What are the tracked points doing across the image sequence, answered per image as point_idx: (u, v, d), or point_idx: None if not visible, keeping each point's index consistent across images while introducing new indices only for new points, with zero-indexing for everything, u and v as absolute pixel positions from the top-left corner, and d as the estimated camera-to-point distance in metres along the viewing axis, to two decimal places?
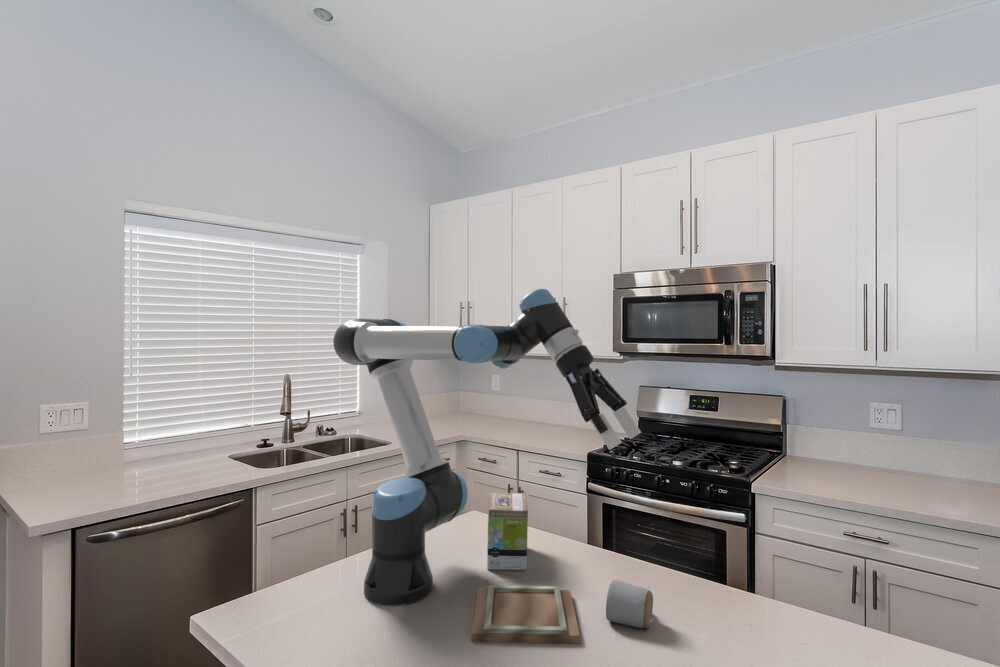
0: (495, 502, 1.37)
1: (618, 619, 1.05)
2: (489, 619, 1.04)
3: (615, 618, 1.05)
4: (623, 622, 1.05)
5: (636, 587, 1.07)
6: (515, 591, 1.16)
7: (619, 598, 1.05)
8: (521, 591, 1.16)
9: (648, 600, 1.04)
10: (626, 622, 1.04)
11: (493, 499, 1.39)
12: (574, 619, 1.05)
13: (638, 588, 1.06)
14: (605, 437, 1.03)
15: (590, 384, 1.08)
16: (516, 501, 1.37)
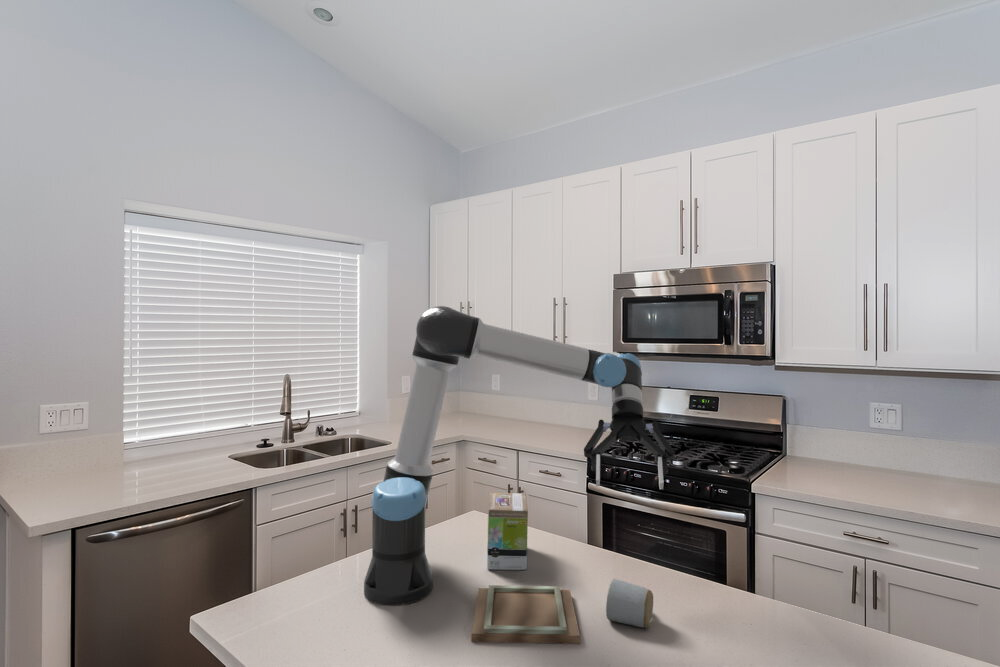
0: (495, 502, 1.37)
1: (618, 619, 1.05)
2: (489, 619, 1.04)
3: (615, 617, 1.05)
4: (623, 621, 1.05)
5: (636, 586, 1.07)
6: (515, 591, 1.16)
7: (619, 597, 1.05)
8: (521, 591, 1.16)
9: (648, 599, 1.04)
10: (626, 621, 1.05)
11: (493, 499, 1.39)
12: (574, 619, 1.05)
13: (638, 587, 1.06)
14: (662, 475, 1.18)
15: None
16: (516, 501, 1.37)
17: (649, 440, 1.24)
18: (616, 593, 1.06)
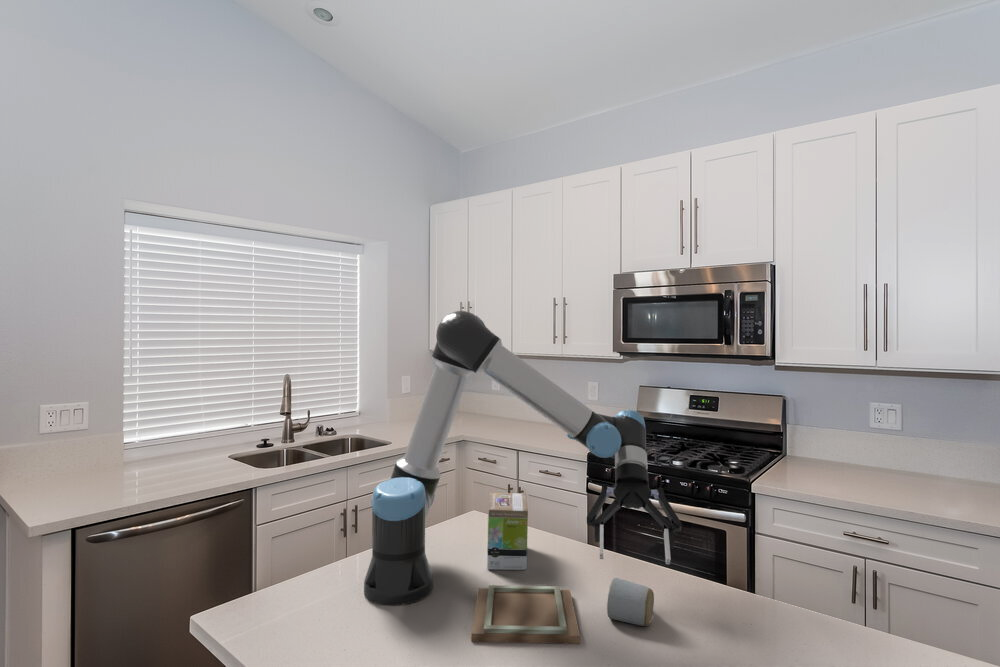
0: (495, 502, 1.37)
1: (619, 617, 1.06)
2: (489, 619, 1.04)
3: (616, 616, 1.06)
4: (624, 620, 1.06)
5: (637, 585, 1.07)
6: (515, 591, 1.16)
7: (620, 596, 1.06)
8: (521, 591, 1.16)
9: (649, 598, 1.05)
10: (627, 620, 1.05)
11: (493, 499, 1.39)
12: (574, 619, 1.05)
13: (639, 586, 1.07)
14: (669, 549, 1.13)
15: None
16: (517, 501, 1.37)
17: (655, 509, 1.19)
18: (617, 592, 1.06)
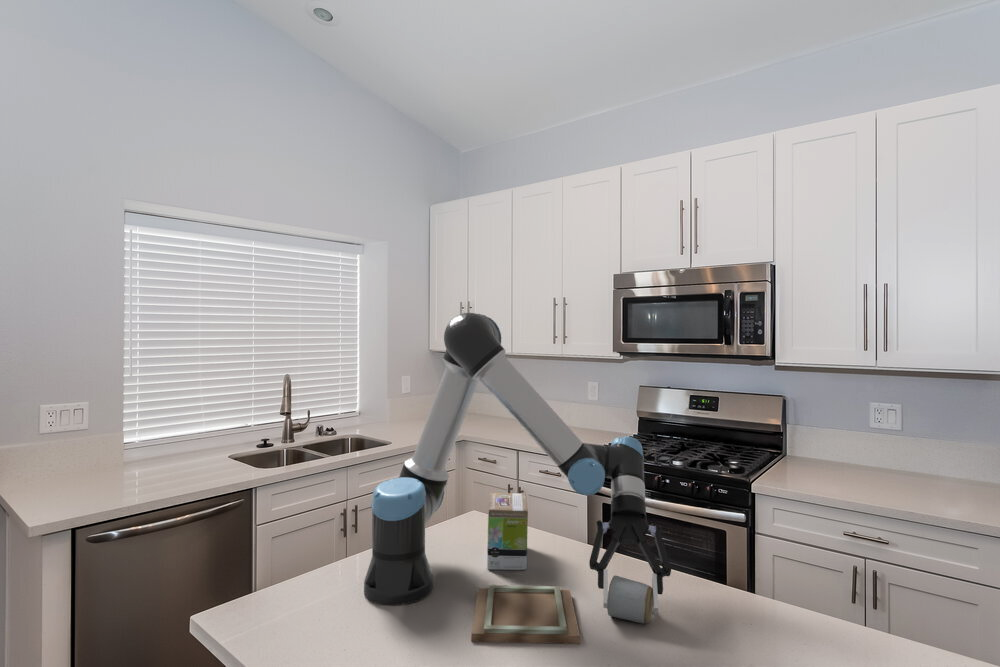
0: (495, 502, 1.37)
1: (619, 615, 1.06)
2: (489, 619, 1.04)
3: (616, 613, 1.07)
4: (624, 617, 1.06)
5: (637, 583, 1.08)
6: (515, 591, 1.16)
7: (620, 594, 1.06)
8: (521, 591, 1.16)
9: (649, 595, 1.05)
10: (627, 617, 1.06)
11: (493, 499, 1.39)
12: (574, 619, 1.05)
13: (639, 584, 1.08)
14: (657, 597, 1.05)
15: None
16: (516, 501, 1.37)
17: (647, 549, 1.11)
18: (617, 589, 1.07)
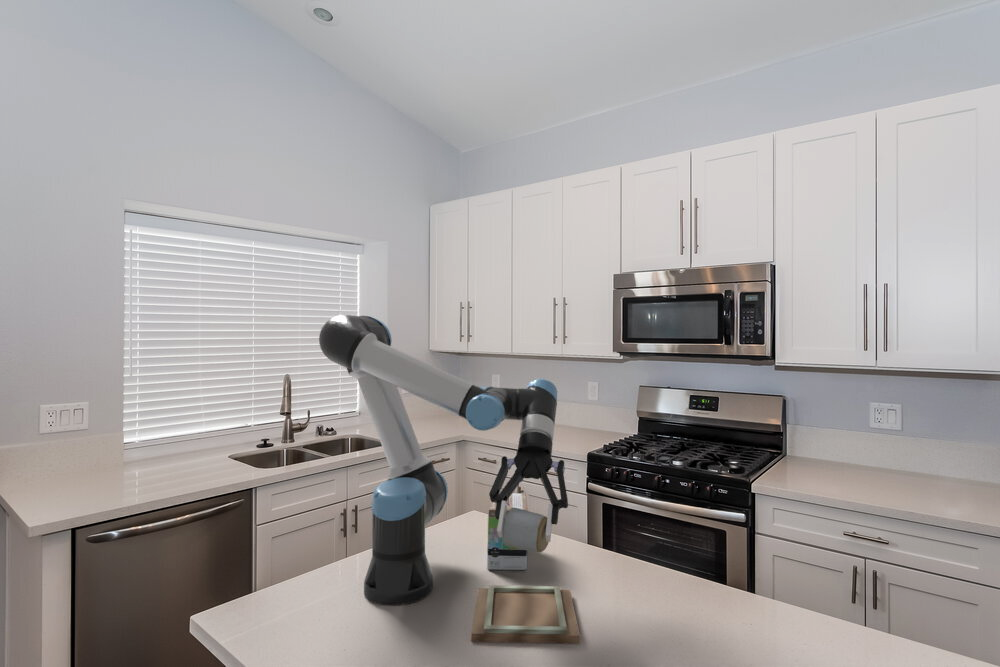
0: None
1: (514, 543, 1.07)
2: (489, 619, 1.04)
3: (511, 542, 1.07)
4: (519, 546, 1.07)
5: (533, 513, 1.09)
6: (515, 591, 1.16)
7: (515, 523, 1.07)
8: (521, 591, 1.16)
9: (542, 524, 1.06)
10: (521, 546, 1.07)
11: None
12: (574, 619, 1.05)
13: (535, 514, 1.09)
14: (550, 526, 1.06)
15: None
16: (516, 501, 1.37)
17: (547, 482, 1.12)
18: (512, 519, 1.08)
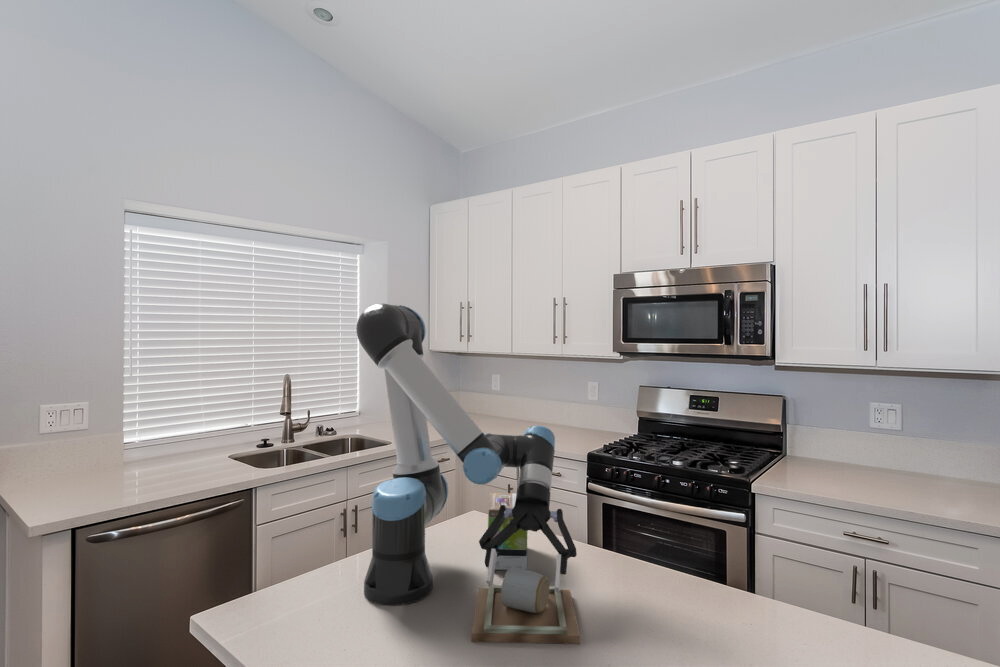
0: (495, 502, 1.37)
1: (512, 605, 1.07)
2: (489, 619, 1.04)
3: (510, 603, 1.07)
4: (517, 607, 1.07)
5: (532, 573, 1.09)
6: None
7: (513, 584, 1.07)
8: None
9: (541, 586, 1.06)
10: (520, 607, 1.07)
11: (493, 499, 1.39)
12: (574, 619, 1.05)
13: (533, 574, 1.09)
14: (559, 577, 1.06)
15: None
16: None
17: (550, 533, 1.12)
18: (511, 580, 1.08)
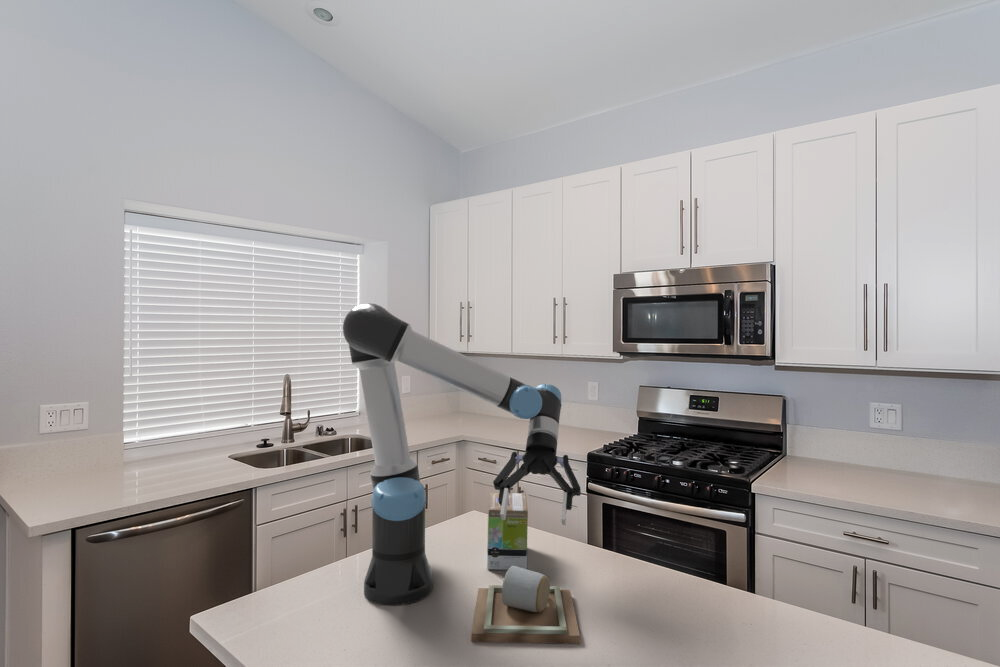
0: (495, 502, 1.37)
1: (513, 604, 1.07)
2: (489, 619, 1.04)
3: (510, 603, 1.08)
4: (518, 607, 1.07)
5: (532, 573, 1.09)
6: None
7: (514, 583, 1.07)
8: None
9: (541, 585, 1.06)
10: (520, 606, 1.07)
11: (493, 499, 1.39)
12: (574, 619, 1.05)
13: (534, 574, 1.09)
14: (565, 511, 1.19)
15: None
16: (516, 501, 1.37)
17: (557, 474, 1.25)
18: (511, 579, 1.08)
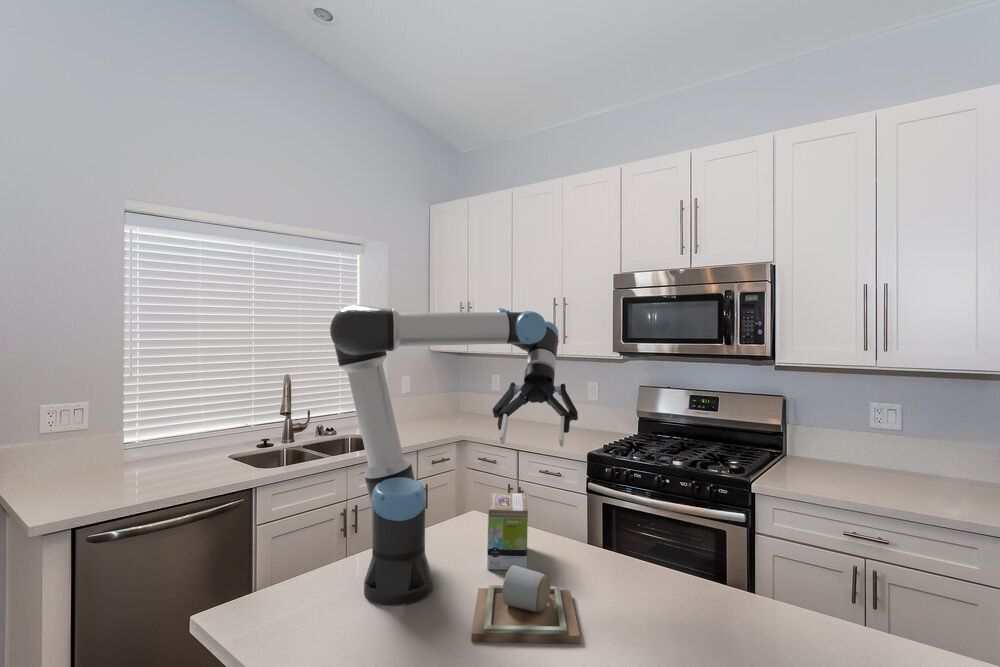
0: (495, 502, 1.37)
1: (514, 604, 1.08)
2: (489, 619, 1.04)
3: (511, 602, 1.08)
4: (518, 606, 1.08)
5: (533, 572, 1.09)
6: None
7: (515, 583, 1.08)
8: None
9: (542, 584, 1.07)
10: (521, 606, 1.07)
11: (493, 499, 1.39)
12: (574, 619, 1.05)
13: (534, 573, 1.09)
14: (563, 433, 1.22)
15: None
16: (516, 501, 1.37)
17: (555, 401, 1.28)
18: (512, 579, 1.08)
